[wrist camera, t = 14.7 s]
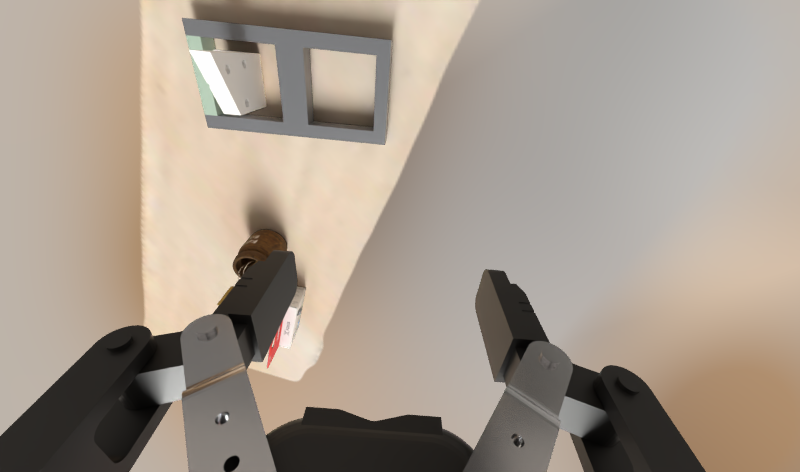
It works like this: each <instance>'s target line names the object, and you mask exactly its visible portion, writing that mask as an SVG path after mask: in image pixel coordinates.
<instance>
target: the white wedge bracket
mask: <svg viewBox="0 0 800 472" xmlns="http://www.w3.org/2000/svg"><path fill="white" fill-rule="evenodd" d="M189 51H190V53H191V55H192V57H193V58H194V60H195V62H196V64H197V66H198V68H199V69H200V71H201V73H202V75H203V77H204V78H205V80H206V82H207V83H208V84H209V85H210V87H209V88H210V89H211V91H212V93H213V95H214V97H215V99H216V100H217V102H218V104H219V106H220V108H221V109H222V111H223V113H224V114H232V115H244V114H247V113H249V112H252V111H255V110H258V109H261V108H264V107H267V104H266V97H265V90H264V82H263V75H262V67H261V60H260V54H259V53H249V52H239V51H230V50H213V51H206V50H189Z"/></svg>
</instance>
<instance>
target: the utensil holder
mask: <svg viewBox="0 0 800 472" xmlns="http://www.w3.org/2000/svg"><path fill="white" fill-rule="evenodd" d="M273 250H280V251H287V245H286V242H285V240H284V239H283V237H282V236H281V235H279V234H278V233H276V232H274V231H271V230H260V231H257V232H255V233H254V234H253V235H252V236H251V237H250V238H249V239H248V240H247V241H246V242H245V244H244V245H243V246H242V247H241V249H240V250H239V253H238V255H237V256H236V258H235V260H234V262H233V269H234V271H235V273H236V274H237V275H238V276H239V277H240V278H241V276H242V275H243V274H244V273H245V271H246V270H247V269H248V268H249V267H251V266H252V265H254V264H255V263H257V262H258V261H266V259H267V258H268V256H269V255H270V254H271V252H272V251H273ZM239 277H238V279H239ZM232 288H233V286H232V287H230V288H229V290H228V291H227V292H226V294H225V295H224V296H223V297H222V299H221V300H220V301H219V303H218V304H217V305H220V304H221V302H222V301H223V300H224V299H225V297H226V296H227V295H228V293H229V292H230V291H231V289H232Z"/></svg>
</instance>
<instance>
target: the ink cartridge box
mask: <svg viewBox="0 0 800 472" xmlns="http://www.w3.org/2000/svg"><path fill="white" fill-rule="evenodd" d="M305 291H306V288H304V287H299V286H297V290H296V293H295V296H294V298H293V300H292V302H291V304H290V306H289V308H288V310H287V312H286V315H285V317H284V319H283V321H282V323H281V325H280V327H279V329H278V331H277V333H276V335H275V339H273V340H274V345H273V347H272V343H273V341H272V343H271V345H270V348H269V353H268V362H267V369H268V367H269V365H270V363H271V361H272V359H273V357H274V355H275V353H276V350H277V348H278V347H279V346H280V347H285V348H289V349H290V348H291V345H292V342H293V340H294V337H295V335H296V332H297V329H298V327H299V322H300V317H301V311H302V307H303V301H304V296H305Z"/></svg>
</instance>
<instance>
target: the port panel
mask: <svg viewBox="0 0 800 472" xmlns="http://www.w3.org/2000/svg"><path fill="white" fill-rule="evenodd" d="M182 21H183V25H184V29H185V34H186V38H187V42H188V46H189V50H206V51H213V50H216V49H215V44H214V39H213V38H218V39H227V40H237V41H246V42H256V43H265V44H275V49H276V58H277V67H278V76H279V85H280V94H281V103H282V112H283V118H277V117H267V116H257V115H247V114H244V115H232V114H224V113H223V111H222V109H221V108H220V106H219V104H218V102H217V100H216V99H215V97H214V95H213V93H212V91H211V89H210V88H209V87H210V85H209V84H208V83H207V82H206V80H205V78H204V77H203V75H202V73H201V71H200V69H199V68H198V66H197V64H196V62H195V60H194V58H193V57H192V55H191V59H192V63H193V67H194V71H195V75H196V80H197V84H198V88H199V92H200V96H201V100H202V105H203V109H204V113H205V117H206V121H207V125H208V128H218V129H228V130H238V131H248V132H259V133H269V134H279V135H289V136H299V137H309V138H320V139H330V140H340V141H350V142H360V143H371V144H381V145H385V143H386V136H387V120H388V105H389V89H390V73H391V58H392V42H393V41H392V40H385V39H376V38H366V37H357V36H348V35H338V34H329V33H319V32H310V31H301V30H291V29H282V28H273V27H263V26H254V25H244V24H235V23H226V22H216V21H207V20H198V19H188V18H182ZM310 48H313V49H322V50H332V51H341V52H351V53H360V54H370V55H377V58H376V83H375V107H374V127H367V126H357V125H347V124H337V123H327V122H317V121H314V114H313V97H312V80H311V63H310ZM190 54H191V53H190Z"/></svg>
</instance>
